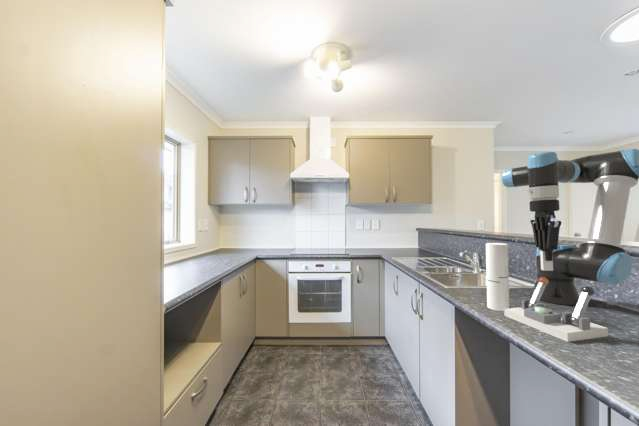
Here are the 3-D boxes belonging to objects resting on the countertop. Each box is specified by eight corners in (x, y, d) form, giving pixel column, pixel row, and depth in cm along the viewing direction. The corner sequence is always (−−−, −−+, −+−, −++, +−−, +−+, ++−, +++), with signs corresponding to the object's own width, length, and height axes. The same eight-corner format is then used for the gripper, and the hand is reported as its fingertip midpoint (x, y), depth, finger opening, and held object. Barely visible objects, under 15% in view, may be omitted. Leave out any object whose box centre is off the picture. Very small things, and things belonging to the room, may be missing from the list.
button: (540, 315, 86) (540, 306, 86) (552, 319, 82) (552, 310, 82) (531, 316, 85) (531, 307, 85) (543, 320, 81) (543, 310, 81)
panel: (538, 312, 96) (538, 296, 96) (607, 336, 76) (607, 316, 76) (504, 315, 93) (504, 299, 93) (567, 341, 73) (567, 321, 74)
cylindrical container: (513, 311, 97) (511, 244, 97) (492, 310, 98) (490, 244, 98) (503, 305, 104) (502, 242, 104) (484, 304, 105) (482, 242, 105)
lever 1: (529, 309, 92) (543, 278, 94) (538, 312, 89) (552, 280, 91) (524, 306, 92) (537, 274, 93) (532, 309, 89) (546, 276, 90)
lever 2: (571, 324, 79) (586, 287, 81) (583, 328, 77) (598, 290, 78) (565, 320, 79) (580, 283, 80) (576, 324, 76) (592, 286, 78)
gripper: (521, 200, 94) (523, 266, 94) (541, 199, 81) (545, 274, 81) (545, 199, 92) (548, 266, 92) (570, 197, 79) (574, 274, 79)
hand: (547, 270), depth 86 cm, fingers closed
